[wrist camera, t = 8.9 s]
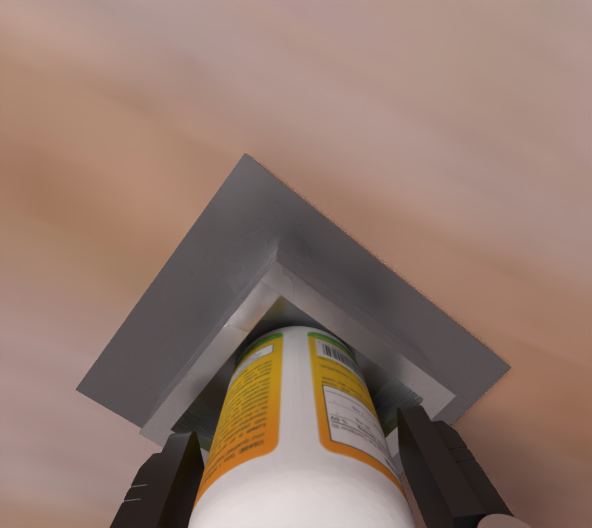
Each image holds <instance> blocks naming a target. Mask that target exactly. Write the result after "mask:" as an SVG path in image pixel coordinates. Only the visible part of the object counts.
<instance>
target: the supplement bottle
mask: <svg viewBox="0 0 592 528" xmlns="http://www.w3.org/2000/svg"><path fill="white" fill-rule="evenodd" d="M188 528H416V525H415V522H414V518H413V515H412V512H411V509H410V506H409V503H408V500H407V498H406V495H405V492H404V489H403V487H402V484H401V481H400V478H399V476H398V473H397V470H396V467H395V464H394V462H393V459H392V456H391V453H390V450H389V448H388V445H387V442H386V439H385V436H384V433H383V430H382V428H381V425H380V422H379V419H378V417H377V414H376V411H375V408H374V406H373V403H372V400H371V397H370V394H369V392H368V389H367V386H366V383H365V380H364V378H363V375H362V372H361V370H360V368H359V365H358V363H357V361H356V359H355V357H354V356H353V354H352V353H351V351H350V350H349V349H348V348H347V347H346V346H345V345H344V344H343V343H342V342H341V341H340V340H339V339H337V338H336V337H334V336H333V335H331V334H329V333H327V332H325V331H322V330H320V329H316V328H312V327H306V326H290V327H284V328H280V329H276V330H273V331H271V332H268V333H266V334H264V335H262V336H261V337H259V338H258V339H256V340H255V341H254V342H252V343H251V344H250V345H249V346H248V347H247V348H246V349H245V350H244V352H243V353H242V354H241V356H240V357H239V359H238V361H237V363H236V365H235V368H234V371H233V374H232V377H231V380H230V384H229V387H228V390H227V394H226V397H225V401H224V404H223V408H222V411H221V415H220V418H219V421H218V425H217V428H216V432H215V435H214V438H213V442H212V445H211V449H210V452H209V455H208V459H207V462H206V466H205V469H204V472H203V476H202V479H201V483H200V486H199V489H198V493H197V496H196V500H195V503H194V507H193V510H192V514H191V517H190V521H189V525H188Z"/></svg>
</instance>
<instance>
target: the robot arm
mask: <svg viewBox="0 0 592 528" xmlns="http://www.w3.org/2000/svg"><path fill="white" fill-rule="evenodd" d="M397 427H398V447H399V454H400V459H401V462H402V466H403V469H404V471H405V474H406V476H407V479H408V481H409V484H410V486H411V489H412V491H413V494H414V496H415V499H416V501H417V504H418V506H419V509H420V511H421V514H422V516H423V519H424V521H425V524H426V526H427V528H532V527H530V526H529V525H528V524H526V523H525V522H523V521H521V520H519V519H517V518H515V517H514V516H513V514H512V513H511V512H510V510H509V509H508V507H507V506H506V504H505V503H504V501H503V500H502V498H501V497H500V495H499V494H498V492H497V491H496V489H495V488H494V486H493V485H492V483H491V482H490V480H489V479H488V477H487V476H486V474H485V473H484V471H483V470H482V468H481V467H480V465H479V464H478V462H476V461H475V458H474V456H473V455H472V453H471V452H470V450H468V449H467V446H466V444H465V443H464V441H463V440H462V438H461V437H460V435H459V434H458V432H457V431H455V430H454V429H453V428H452V427H450V426H449V425H448V424H446V423H445V422H444V421H443V420H441V421H431V419H430V418H429V416H428V414H427V413H426V411H425V409H424V408H423V406H422V405H415V406H406V407H398V408H397ZM204 469H205V466H204V462H203V457H202V453H201V449H200V444H199V440H198V436H197V433H196V432H195V431H190V432H181V433H173V434H171V435H170V436H169V437H168V439H167V441H166V444H165V446H164V448H163V450H162V452H161V453H155V454H152V456H151V457H150V458H149V459H148V460H147V461H146V462H145V463H144V464H143V465H142V466H141V468H140V469H139V471H138V473H137V475H136V477H135V478H134V480H133V482H132V484H131V488H130V489H129V490H128V492H127V494H126V496H125V498H124V503H122V504H121V506H120V508H119V510H118V512H117V514H116V516H115V518H114V520H113V522H112V524H111V526H110V528H188V525H189V521H190V517H191V514H192V510H193V507H194V503H195V500H196V496H197V493H198V489H199V486H200V483H201V479H202V476H203V472H204Z"/></svg>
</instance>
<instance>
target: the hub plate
mask: <svg viewBox="0 0 592 528" xmlns="http://www.w3.org/2000/svg"><path fill="white" fill-rule="evenodd" d="M290 326H306V327H312V328H316V329H320V330H322V331H325V332H327V333H329V334H331V335H333V336H334V337H336V338H337V339H339V340H340V341H341V342H342V343H343V344H344V345H345V346H346V347H347V348H348V349H349V350H350V351H351V353H352V354H353V356H354V357H355V359H356V361H357V363H358V365H359V368H360V370H361V372H362V375H363V378H364V380H365V383H366V386H367V389H368V392H369V394H370V397H371V400H372V403H373V406H374V408H375V411H376V414H377V417H378V419H379V422H380V425H381V428H382V430H383V433H384V436H385V439H386V442H387V445H388V448H389V450H390V453H391V456H392V459H393V462H394V464H395V467H396V470H397V473H398V475H399V474H400V473H401V472H402V471H403V470H404V469H403V466H402V462H401V459H400V454H399V447H398V427H397V408H398V407H406V406H415V405H422V406H423V408H424V409H425V411H426V413H427V414H428V416H429V418H430V419H431V421H441V420H443V421H444V422H445V423H446V424H448V425H449V426H450V425H451V424H452V423H454V422H455V421H456V420H457V419H458V418H459V417H460V416H461V415H462V414H463V413H464V412H465V411H466V410H467V409H468V408H469V407H470V406H471V405H472V404H473V403H475V402H476V401H477V400H478V399H479V398H480V397H481V396H482V395H483V394H484V393H485V392H486V391H487V390H488V389H489V388H490V387H491V386H492V385H493V384H494V383H495V382H497V381H498V380H499V379H500V378H501V377H502V376H503V375H504V374H505V373H506V372H507V371H508V370H509V369H510V368H511V367H510V366H509V365H508V364H507V363H506V362H504V361H503V360H502V359H501V358H500V357H499V356H497V355H496V354H495V353H494V352H493V351H491V350H490V349H489V348H488V347H486V346H485V345H484V344H483V343H481V342H480V341H479V340H478V339H476V338H475V337H474V336H473V335H471V334H470V333H469V332H468V331H466V330H465V329H464V328H463V327H462V326H460V325H459V324H458V323H457V322H455V321H454V320H453V319H452V318H450V317H449V316H448V315H447V314H445V313H444V312H443V311H442V310H440V309H439V308H438V307H437V306H435V305H434V304H433V303H432V302H430V301H429V300H428V299H427V298H426V297H424V296H423V295H422V294H421V293H419V292H418V291H417V290H416V289H414V288H413V287H412V286H411V285H409V284H408V283H407V282H406V281H404V280H403V279H402V278H401V277H399V276H398V275H397V274H396V273H394V272H393V271H392V270H391V269H389V268H388V267H387V266H386V265H385V264H383V263H382V262H381V261H380V260H378V259H377V258H376V257H375V256H373V255H372V254H371V253H370V252H368V251H367V250H366V249H365V248H363V247H362V246H361V245H360V244H358V243H357V242H356V241H355V240H353V239H352V238H351V237H350V236H348V235H347V234H346V233H345V232H344V231H342V230H341V229H340V228H339V227H337V226H336V225H335V224H334V223H332V222H331V221H330V220H329V219H327V218H326V217H325V216H324V215H322V214H321V213H320V212H319V211H317V210H316V209H315V208H314V207H312V206H311V205H310V204H309V203H307V202H306V201H305V200H304V199H303V198H301V197H300V196H299V195H298V194H296V193H295V192H294V191H293V190H291V189H290V188H289V187H288V186H286V185H285V184H284V183H283V182H281V181H280V180H279V179H278V178H276V177H275V176H274V175H273V174H271V173H270V172H269V171H268V170H266V169H265V168H264V167H263V166H262V165H260V164H259V163H258V162H257V161H255V160H254V159H253V158H252V157H250V156H249V155H247V154H246V153H245V154H244V155H243V156H242V158H241V159H240V161H239V162H238V163H237V165H236V166H235V168H234V169H233V170H232V172H231V173H230V175H229V176H228V177H227V179H226V180H225V182H224V183H223V184H222V186H221V187H220V189H219V190H218V191H217V193H216V194H215V196H214V197H213V198H212V200H211V201H210V203H209V204H208V205H207V207H206V208H205V210H204V211H203V212H202V214H201V215H200V216H199V218H198V219H197V221H196V222H195V223H194V225H193V226H192V228H191V229H190V230H189V232H188V233H187V235H186V236H185V237H184V239H183V240H182V242H181V243H180V244H179V246H178V247H177V249H176V250H175V251H174V253H173V254H172V256H171V257H170V258H169V260H168V261H167V263H166V264H165V265H164V267H163V268H162V270H161V271H160V272H159V274H158V275H157V277H156V278H155V279H154V281H153V282H152V284H151V285H150V286H149V288H148V289H147V290H146V292H145V293H144V295H143V296H142V297H141V299H140V300H139V302H138V303H137V304H136V306H135V307H134V309H133V310H132V311H131V313H130V314H129V316H128V317H127V318H126V320H125V321H124V323H123V324H122V325H121V327H120V328H119V330H118V331H117V332H116V334H115V335H114V337H113V338H112V339H111V341H110V342H109V344H108V345H107V346H106V348H105V349H104V351H103V352H102V353H101V355H100V356H99V358H98V359H97V360H96V362H95V363H94V365H93V366H92V367H91V369H90V370H89V371H88V373H87V374H86V376H85V377H84V378H83V380H82V381H81V383H80V384H79V385H78V387H77V388H76V390H77V391H79V392H80V393H82V394H84V395H85V396H87V397H89V398H91V399H92V400H94V401H96V402H98V403H99V404H101V405H103V406H104V407H106V408H108V409H110V410H111V411H113V412H115V413H116V414H118V415H120V416H122V417H123V418H125V419H127V420H128V421H130V422H132V423H134V424H135V425H137V426H139V427H140V428H142V429H141V430H140V432H139V434H141V435H143V436H144V437H146V438H148V439H150V440H151V441H153V442H155V443H156V444H158V445H160V446H162V447H163V448H164V446H165V444H166V441H167V439H168V437H169V436H170V435H171V434H173V433H181V432H190V431H195V432H196V433H197V436H198V440H199V444H200V449H201V453H202V457H203V462H204V466H206V462H207V459H208V455H209V452H210V449H211V445H212V442H213V438H214V435H215V432H216V428H217V425H218V421H219V418H220V415H221V411H222V408H223V404H224V401H225V397H226V394H227V390H228V387H229V384H230V380H231V377H232V374H233V371H234V368H235V365H236V363H237V361H238V359H239V357H240V356H241V354H242V353H243V352H244V350H245V349H246V348H247V347H248V346H249V345H250V344H251V343H252V342H254V341H255V340H256V339H258V338H259V337H261V336H262V335H264V334H266V333H268V332H271V331H273V330H276V329H280V328H284V327H290Z"/></svg>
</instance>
